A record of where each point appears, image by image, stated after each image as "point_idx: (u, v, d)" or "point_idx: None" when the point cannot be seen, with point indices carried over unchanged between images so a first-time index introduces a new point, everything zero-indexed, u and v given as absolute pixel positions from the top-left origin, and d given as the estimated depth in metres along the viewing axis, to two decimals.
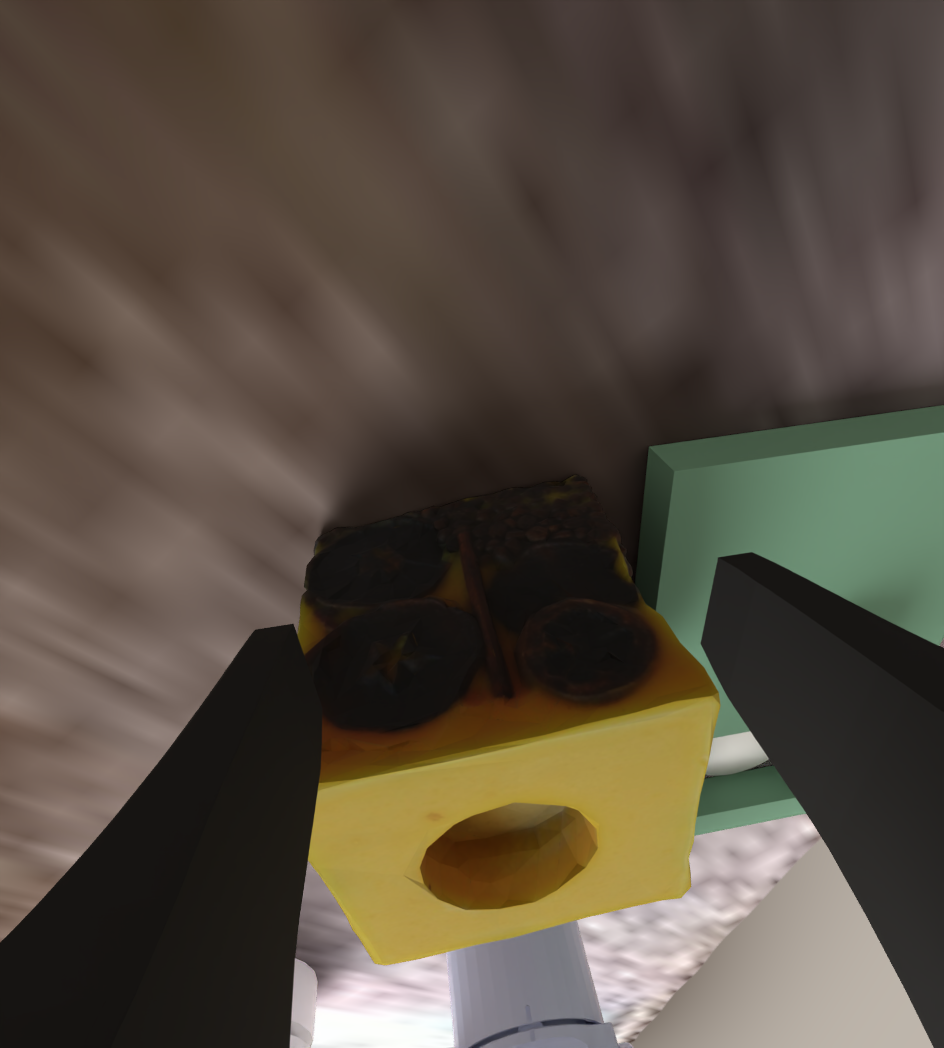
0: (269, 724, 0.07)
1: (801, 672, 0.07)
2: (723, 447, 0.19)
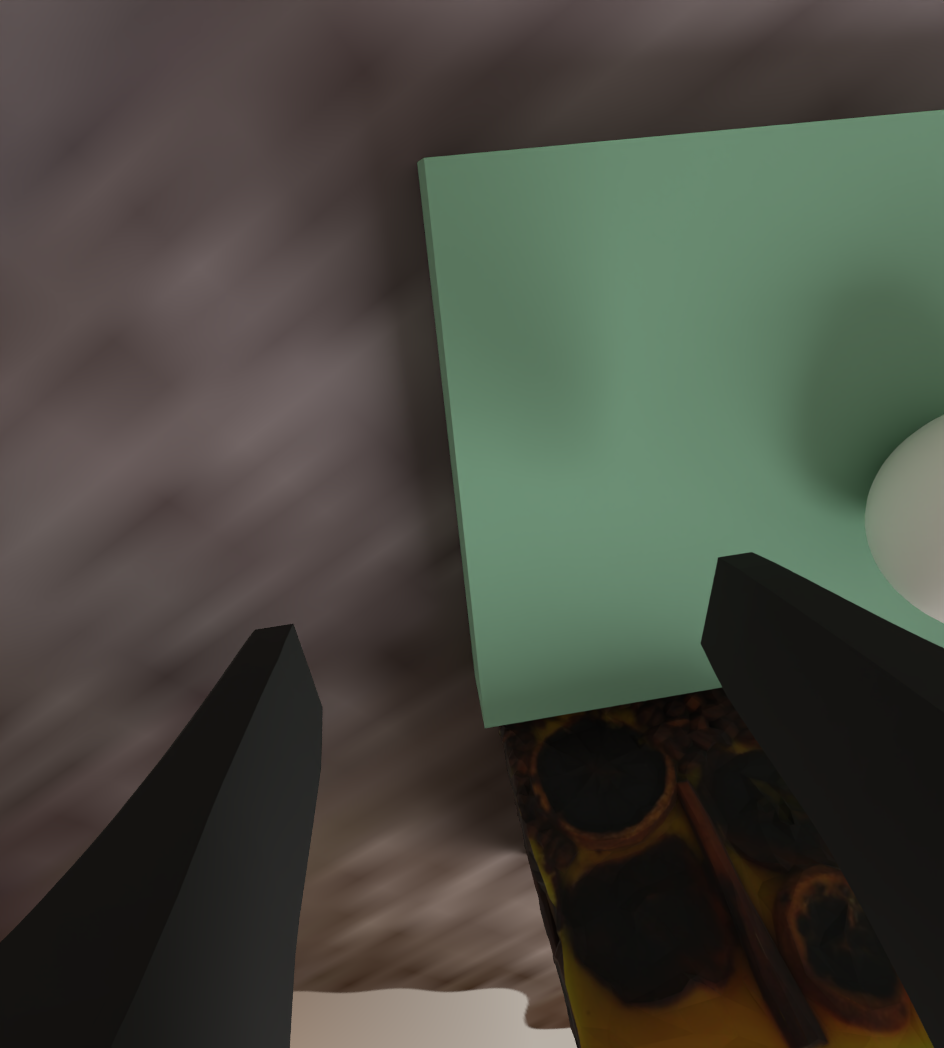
0: (269, 723, 0.07)
1: (801, 672, 0.07)
2: (473, 644, 0.16)
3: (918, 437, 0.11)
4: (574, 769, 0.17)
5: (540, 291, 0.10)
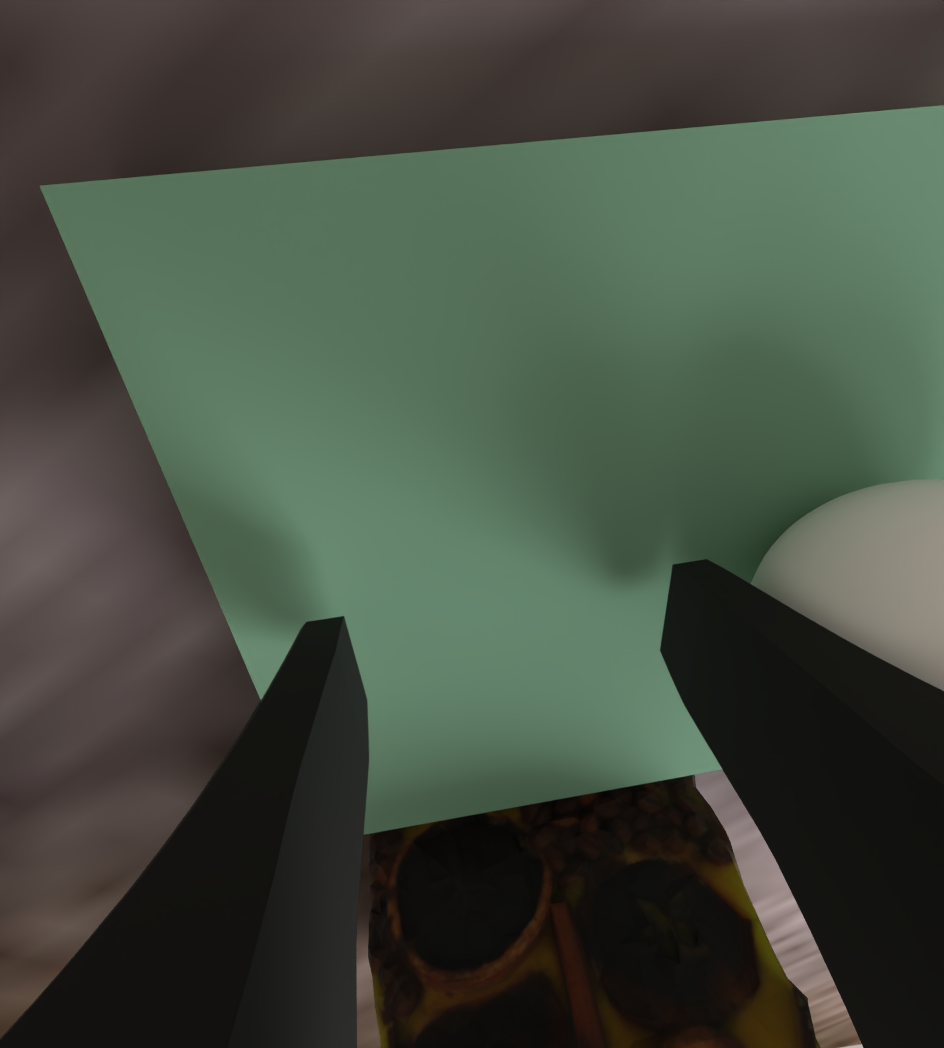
0: (331, 713, 0.07)
1: (747, 682, 0.07)
2: None
3: (796, 536, 0.09)
4: (440, 880, 0.15)
5: (261, 358, 0.07)
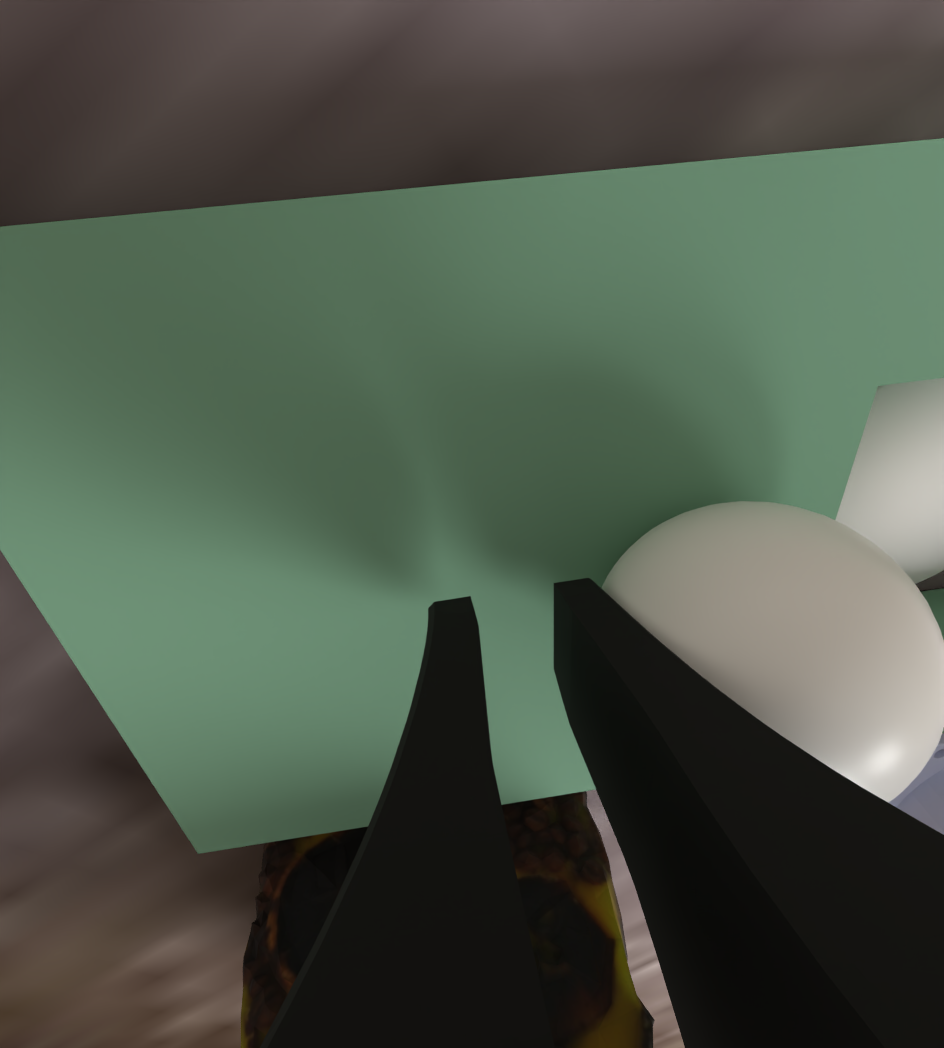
0: (484, 687, 0.07)
1: (604, 707, 0.07)
2: None
3: (619, 575, 0.09)
4: (322, 893, 0.15)
5: (45, 397, 0.08)
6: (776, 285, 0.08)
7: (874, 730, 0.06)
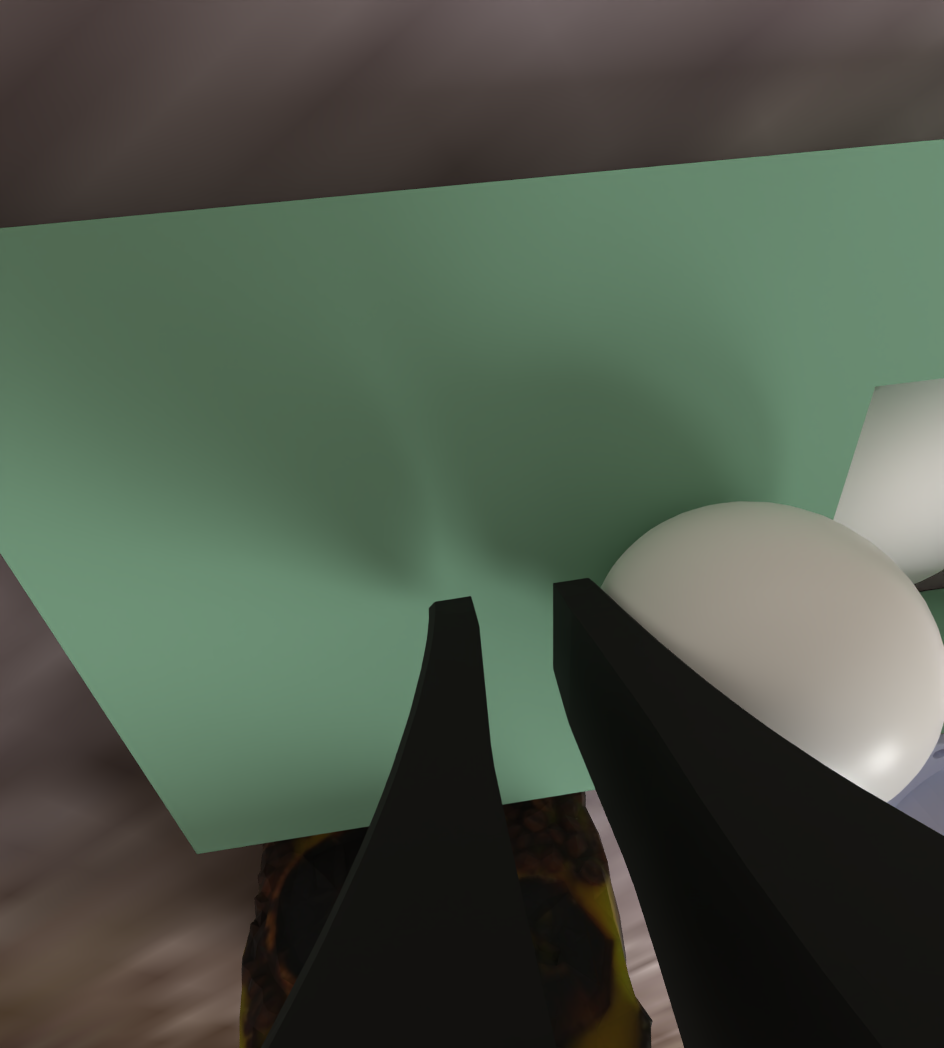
0: None
1: (603, 707, 0.07)
2: None
3: (617, 576, 0.09)
4: (321, 894, 0.15)
5: (43, 399, 0.08)
6: (773, 286, 0.08)
7: (873, 728, 0.06)
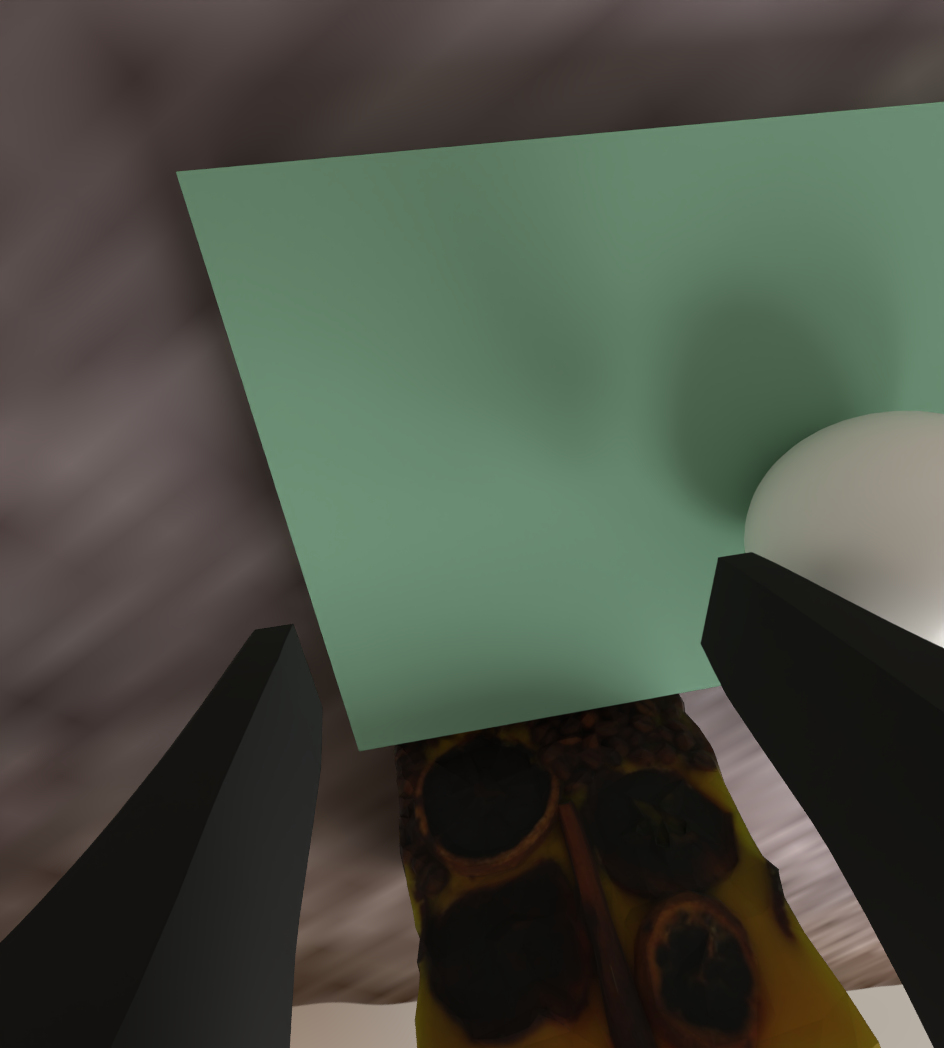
0: (269, 723, 0.07)
1: (801, 672, 0.07)
2: None
3: (791, 469, 0.10)
4: (460, 790, 0.17)
5: (333, 309, 0.09)
6: (928, 215, 0.10)
7: None
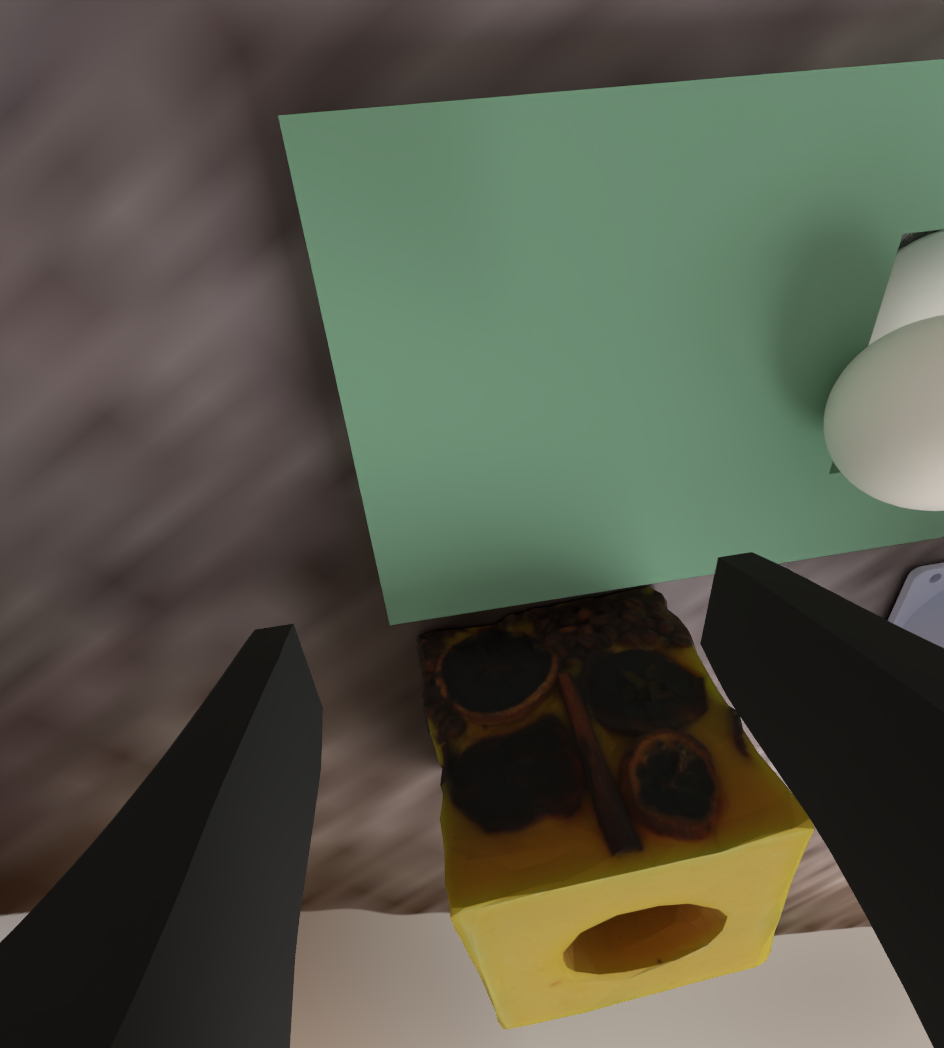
0: (269, 723, 0.07)
1: (801, 672, 0.07)
2: None
3: None
4: (474, 667, 0.20)
5: (386, 225, 0.12)
6: (842, 157, 0.13)
7: None
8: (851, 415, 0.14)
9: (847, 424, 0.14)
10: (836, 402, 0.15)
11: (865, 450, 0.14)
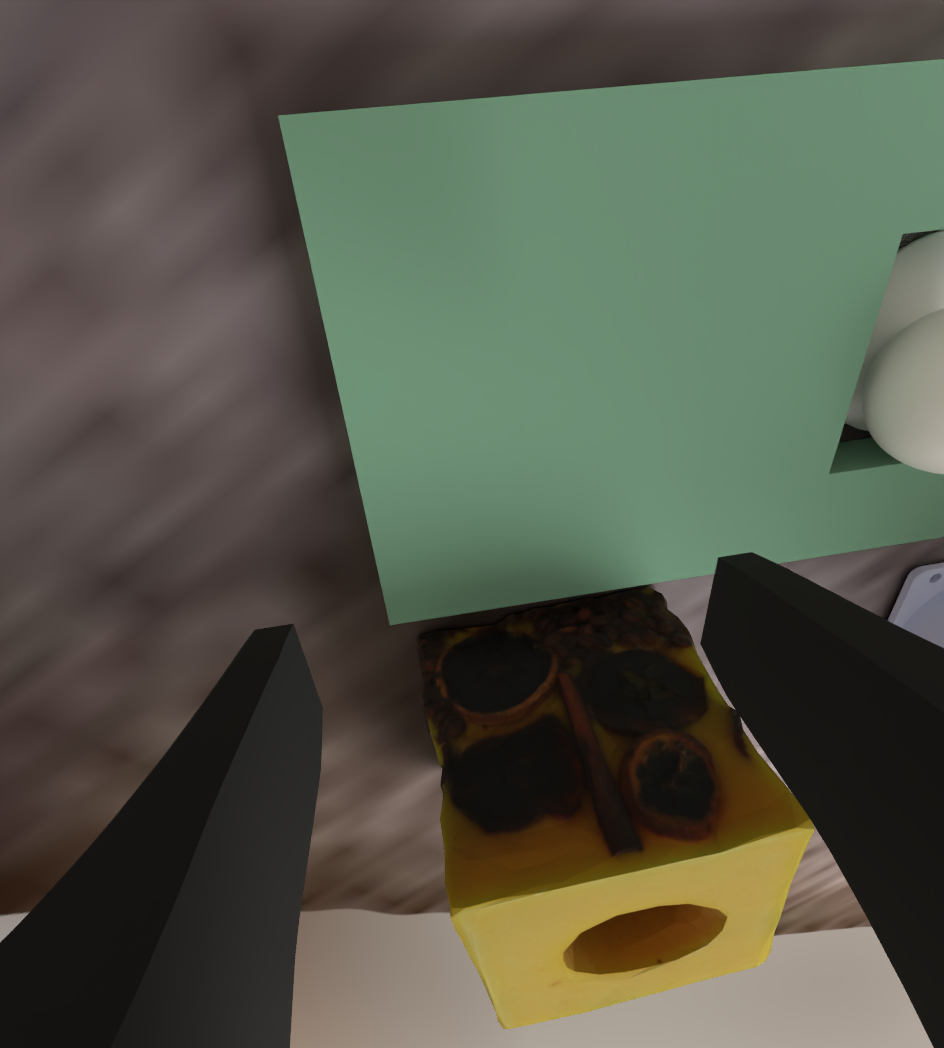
0: (269, 723, 0.07)
1: (801, 672, 0.07)
2: None
3: None
4: (474, 667, 0.20)
5: (386, 225, 0.12)
6: (842, 157, 0.13)
7: None
8: None
9: None
10: None
11: None
